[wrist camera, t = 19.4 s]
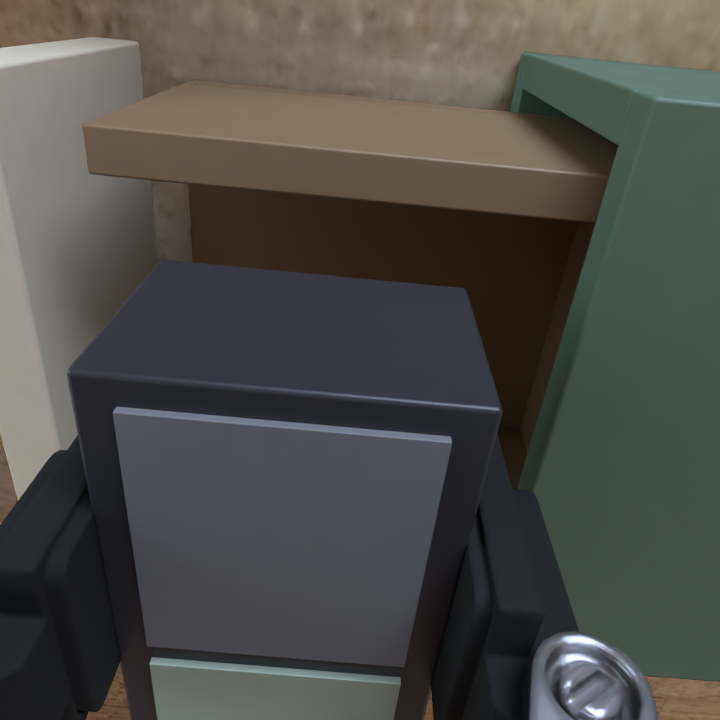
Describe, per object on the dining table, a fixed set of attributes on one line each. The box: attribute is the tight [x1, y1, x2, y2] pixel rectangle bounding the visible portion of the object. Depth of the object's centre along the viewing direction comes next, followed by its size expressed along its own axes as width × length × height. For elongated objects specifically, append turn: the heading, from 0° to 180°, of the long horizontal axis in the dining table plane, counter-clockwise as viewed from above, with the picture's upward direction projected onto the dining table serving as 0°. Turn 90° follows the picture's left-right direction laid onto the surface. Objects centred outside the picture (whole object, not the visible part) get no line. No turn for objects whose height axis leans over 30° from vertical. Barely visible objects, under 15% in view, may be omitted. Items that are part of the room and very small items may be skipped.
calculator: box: [67, 260, 503, 720], centre depth 9 cm, size 7×5×3 cm, turn 175°
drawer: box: [0, 37, 618, 500], centre depth 15 cm, size 19×11×7 cm, turn 85°
